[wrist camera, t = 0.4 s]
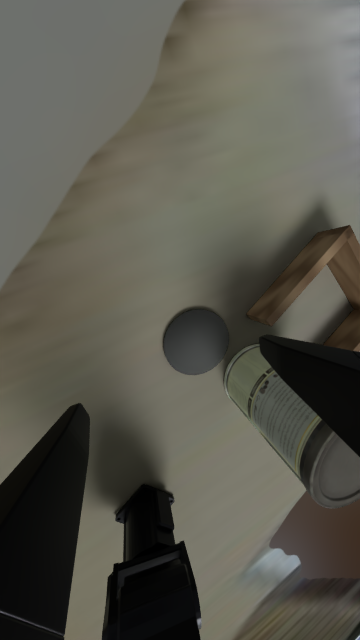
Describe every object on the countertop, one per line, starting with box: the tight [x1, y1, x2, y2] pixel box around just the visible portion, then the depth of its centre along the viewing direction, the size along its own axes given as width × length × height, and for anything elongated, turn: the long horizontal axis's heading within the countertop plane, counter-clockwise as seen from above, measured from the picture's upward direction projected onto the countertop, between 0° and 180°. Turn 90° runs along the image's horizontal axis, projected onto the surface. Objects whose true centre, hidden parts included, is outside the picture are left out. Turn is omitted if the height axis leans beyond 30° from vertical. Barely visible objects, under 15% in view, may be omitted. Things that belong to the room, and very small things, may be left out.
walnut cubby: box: [246, 225, 360, 352], centre depth 27 cm, size 15×16×4 cm
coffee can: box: [224, 344, 360, 508], centre depth 22 cm, size 10×10×14 cm
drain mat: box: [163, 309, 229, 375], centre depth 25 cm, size 9×9×1 cm
